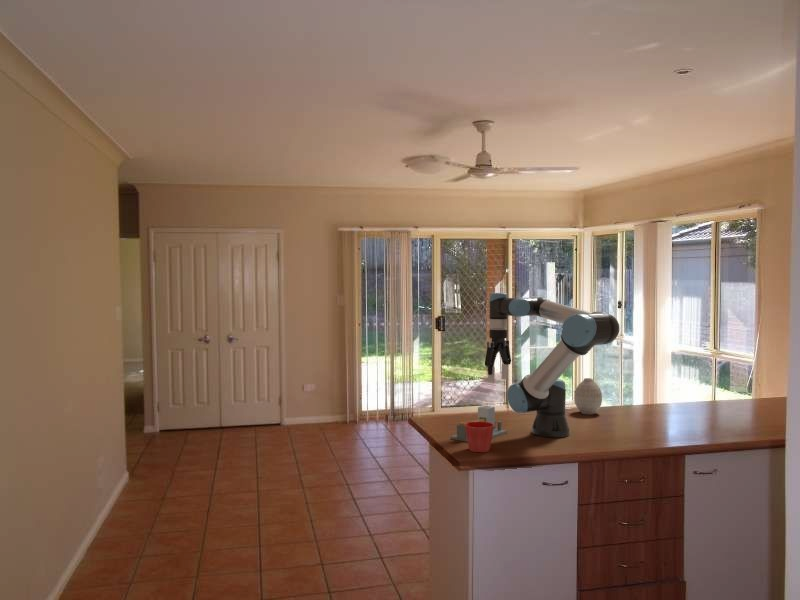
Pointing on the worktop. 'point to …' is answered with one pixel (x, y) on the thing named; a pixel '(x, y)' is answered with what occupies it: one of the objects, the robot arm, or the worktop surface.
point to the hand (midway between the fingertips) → (498, 380)
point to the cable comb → (461, 427)
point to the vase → (588, 397)
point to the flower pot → (479, 435)
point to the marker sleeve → (487, 413)
